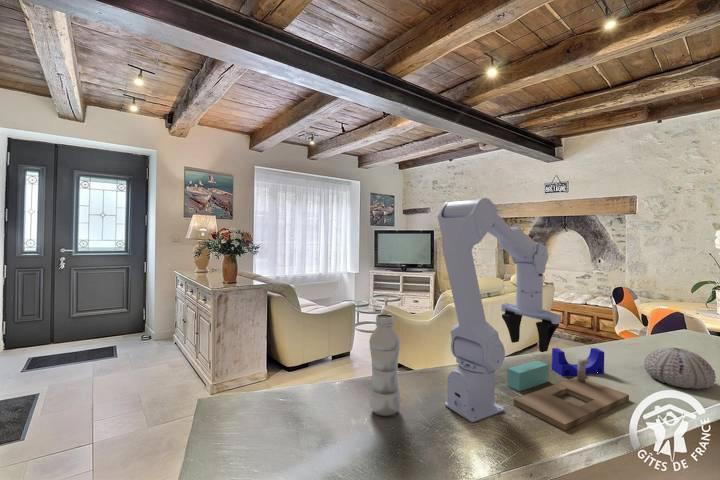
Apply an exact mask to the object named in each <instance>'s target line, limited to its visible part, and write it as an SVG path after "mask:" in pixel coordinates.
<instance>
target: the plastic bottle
mask: <svg viewBox="0 0 720 480" xmlns="http://www.w3.org/2000/svg"><path fill="white" fill-rule="evenodd" d="M394 325H395V322H394V315H393V314H389V313H380V314H376V315H375V326H376V328H375V329H374V331H372V334H371V335H370V336H369V349H370V357H371V372H372V373H371V385H370V390H369V405H370V408H371V410H372V412H373V413H375V414H376V415H378V416H382V417H389V416H393V415H395V414H396V413H398V411H399V409H400V407H401V394H400V389H399V379H398V368H399V367H398V366H399V363H398V362H399V355H400V348H401V347H400V345H401V341H400V337H399V335H398V333H397V332H396V330H395V329H394V327H393V326H394Z"/></svg>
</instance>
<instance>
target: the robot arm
mask: <svg viewBox="0 0 720 480" xmlns="http://www.w3.org/2000/svg"><path fill="white" fill-rule="evenodd" d="M497 208H498V207H497V205H496V204H495V203H493V201H492V200H491V199H490V198H487V197H482V198H477V199H467V200H456V201H454V200H450V201H446V202H445V203H444V204H443V205H442V207H441V209H440V211H439V213H438V215H437V221H438V223H439V224H438V225H439V226H438V227H439V230H440V234H441V247H442V253H443V257H444V263H445V266H446V267H445V268H446V272H447V276H448V280H449V281H448V282H449V285H450V289H451V290H450V291H451V293H452V294H451V295H452V298H453V299H452V300H453V303H454V308H455V312H456V317H457V323H456V324H454V326H453V327H452V329H451V330H450V337H451V341H450V351H451V354H452V355H453V357H455V359H456V361H455V363H457V365H458V366H457V367H456V368H455V369H454V370H451V371H450V372H449V374H448V376H447V397H446V398H447V401H445V402H444V405H445V406H446V407H447V408H449V409H450V410H452V411H454V412H455V413H457V414H458V415H460V416H461V417H463V418H464V419H466V420H468V421H469V422H471V423H475V422H477V421H480V420H483V419H486V418H488V417H491V416H494V415H495V414H498V413H501V412H504V411H505V407H503V406H501V405H499V404H497V403H496V401H495V400H496V399H495V398H496V393H495V392H496V391H495V390H496V389H495V387H496V371H497V370H499V369H500V367H502V365H503V363H504V360H505V356H506V350H505V346H504V343H503V342H502V341H501V339H500V336H499V332H498V331H497V330H496V329H495V328H494V327H493V326H492V324H490V323H488V321H487V320H486V315H485V310H484V305H483V300H482V296H481V290H480V285H479V280H478V275H477V270H476V266H475V265H476V264H475V259H474V256H473V248H474V247H475V245H478V244H480V243H481V241H482V240H483V239H484V237H486V235H487V234H491V235H492V236H493V237H495V238H496V239H498V245H499V247H500V248H502V249H503V250H504V251H506V253H508V254H509V256H510V257H511V261H512V263H513V264H514V265H516V289H515V290H516V292H515V294H516V297H515V298H516V299H515V301H516V302H515V304H514V303H508V302H506V303H502V304H501V310H500V311H501V312H502V314H501V318H502V319H503V321H504V324H505V325H506V327H507V330H508V334H509V338H510V342H511V343H512V344H513V343H519V341H520V333H521V332H520V329H521V323H522V319H523V316H524V317H526V318H530V319H531V318H532V319H534V320H535V319H536V320H540V321H537V322H535V325H536V328H537V334H538V350H539V351H538V352H540V353H545V352H548V351H549V350H548V349H549V346H550V343H551V340H552V338H553V336H554V333H555V332H556V330H557V329H558V328H559V326H560V324H562V315H561V314H558V313H555V312H552V311H549V310H546V309H543V293H544V291H543V285H544V282H543V278H544V277H543V276H544V273H545V271H546V265H547V262H548V259H549V253H548V248H547V247H546V245H545V244H543V243H542V242H537V241H536V242H535V241H534V240H533V239H532V238H531V237H530V236H528V235H527V233H525V232H524V231H523V229H522V228H521V227H520V226H510V225H508V224H507V222H506V221H505V220H504V219H503V218H502V217H501V216H500V215H499V213H498V209H497ZM503 312H504V313H503Z"/></svg>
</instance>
